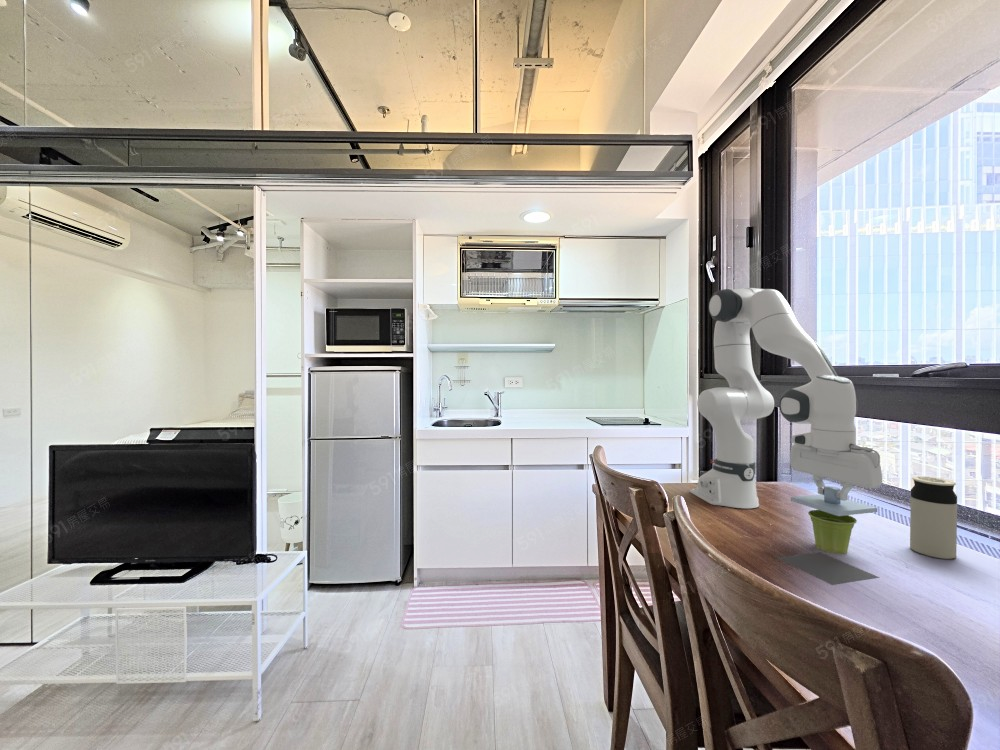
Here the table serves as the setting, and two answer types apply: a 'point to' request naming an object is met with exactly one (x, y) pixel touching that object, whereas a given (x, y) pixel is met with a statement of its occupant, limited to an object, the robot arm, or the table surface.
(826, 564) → the mat
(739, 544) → the table surface
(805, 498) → the lid
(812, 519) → the plant pot
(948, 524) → the travel mug
